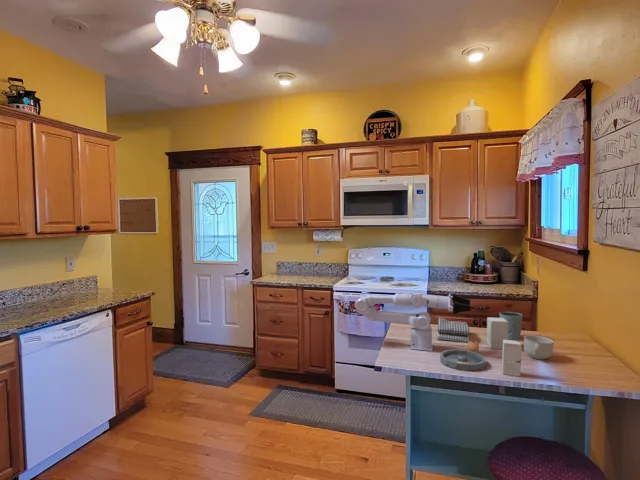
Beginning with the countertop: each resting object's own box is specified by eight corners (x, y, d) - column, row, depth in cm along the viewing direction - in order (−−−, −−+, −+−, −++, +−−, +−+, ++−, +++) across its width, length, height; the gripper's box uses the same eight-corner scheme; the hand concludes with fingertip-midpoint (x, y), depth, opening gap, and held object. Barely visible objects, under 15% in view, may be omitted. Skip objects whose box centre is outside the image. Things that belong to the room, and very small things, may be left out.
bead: (468, 354, 160) (468, 342, 160) (467, 351, 164) (467, 339, 164) (479, 355, 159) (479, 343, 159) (478, 352, 163) (478, 340, 163)
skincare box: (502, 374, 139) (503, 342, 138) (501, 370, 143) (502, 339, 142) (521, 376, 136) (521, 344, 136) (519, 372, 141) (520, 340, 140)
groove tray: (440, 367, 145) (440, 361, 145) (440, 353, 162) (440, 347, 161) (487, 373, 140) (487, 366, 140) (483, 357, 156) (483, 351, 156)
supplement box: (508, 349, 166) (508, 321, 165) (490, 348, 167) (490, 320, 167) (503, 344, 173) (503, 317, 173) (486, 343, 175) (486, 316, 174)
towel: (436, 341, 180) (436, 325, 179) (436, 330, 197) (436, 316, 197) (470, 343, 175) (470, 327, 175) (467, 333, 192) (467, 318, 192)
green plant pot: (497, 338, 182) (497, 314, 181) (500, 333, 190) (501, 310, 189) (520, 342, 176) (521, 317, 175) (523, 336, 184) (523, 312, 184)
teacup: (528, 350, 164) (528, 332, 164) (556, 356, 156) (556, 338, 156) (517, 359, 154) (517, 340, 154) (547, 366, 147) (547, 346, 146)
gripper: (437, 298, 159) (472, 302, 154) (438, 288, 172) (470, 291, 168) (437, 314, 160) (470, 318, 156) (438, 302, 174) (469, 306, 169)
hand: (470, 305), depth 162 cm, fingers open, 7 cm apart
